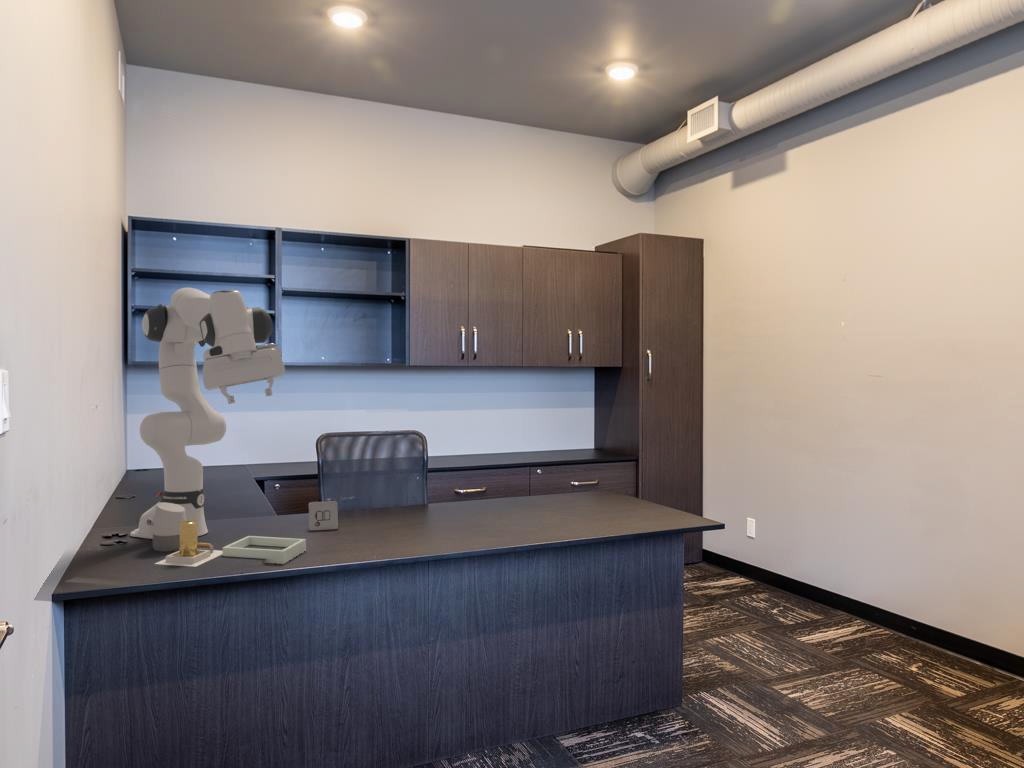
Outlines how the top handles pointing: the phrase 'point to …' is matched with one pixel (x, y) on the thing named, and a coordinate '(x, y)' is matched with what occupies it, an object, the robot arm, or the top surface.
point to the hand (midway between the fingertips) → (250, 399)
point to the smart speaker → (167, 526)
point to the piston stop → (188, 538)
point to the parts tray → (269, 555)
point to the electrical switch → (323, 515)
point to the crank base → (203, 555)
